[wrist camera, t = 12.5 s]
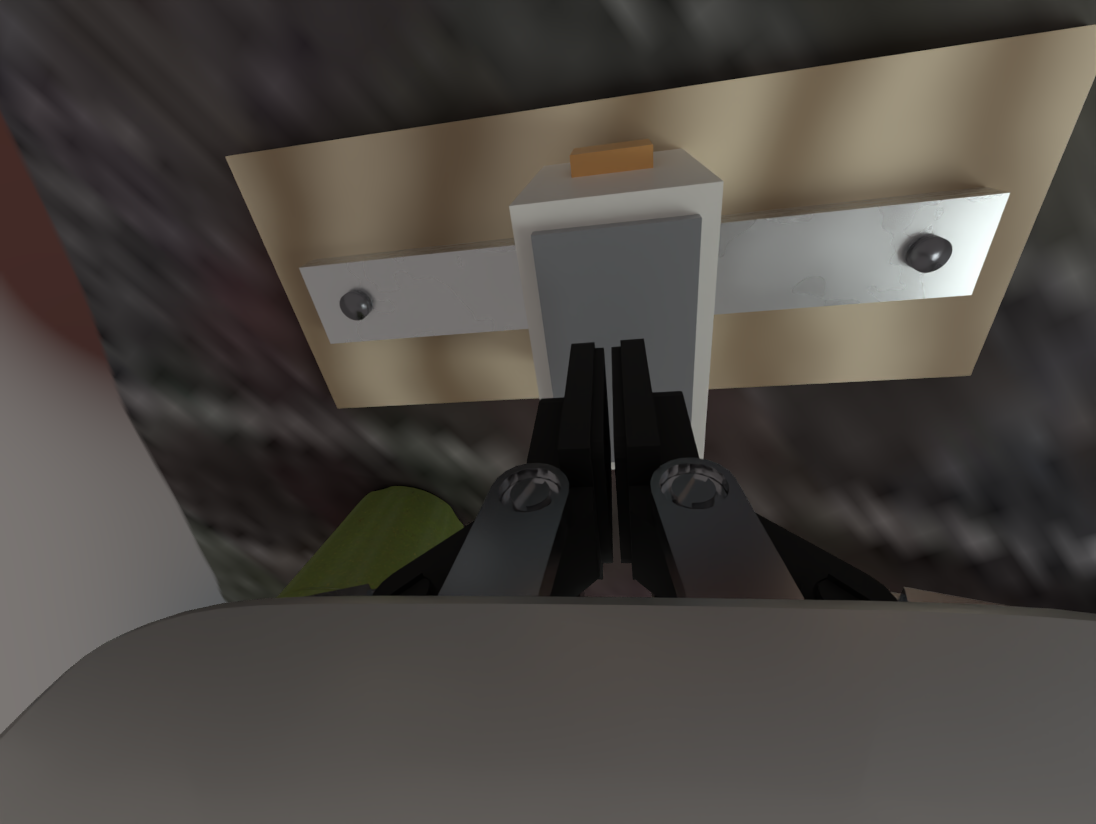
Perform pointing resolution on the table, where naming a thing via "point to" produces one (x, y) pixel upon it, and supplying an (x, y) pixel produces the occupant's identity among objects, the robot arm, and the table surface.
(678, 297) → the box
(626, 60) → the table surface
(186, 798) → the robot arm
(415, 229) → the rail board
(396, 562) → the plant pot
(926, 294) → the rail
